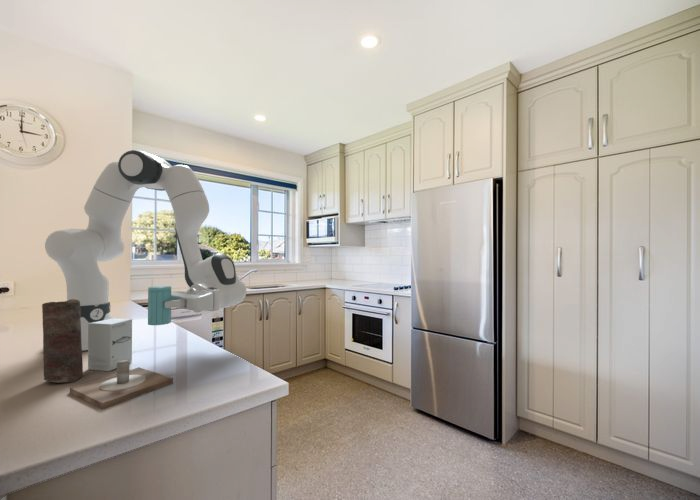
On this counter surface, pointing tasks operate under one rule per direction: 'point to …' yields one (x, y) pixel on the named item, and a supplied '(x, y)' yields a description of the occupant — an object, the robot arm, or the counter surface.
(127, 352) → the supplement box
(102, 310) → the robot arm
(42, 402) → the counter surface
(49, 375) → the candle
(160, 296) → the teal lidded canister
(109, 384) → the mount plate
